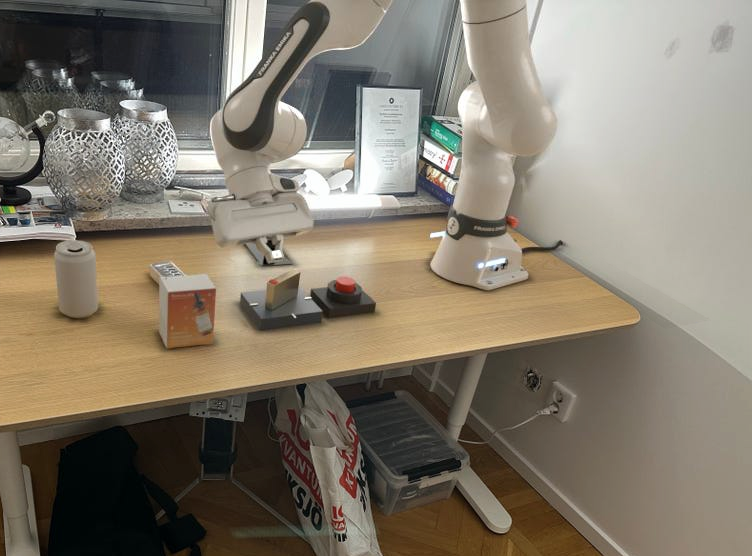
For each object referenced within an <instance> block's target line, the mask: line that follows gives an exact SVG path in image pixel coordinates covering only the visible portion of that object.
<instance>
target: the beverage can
mask: <svg viewBox="0 0 752 556" xmlns="http://www.w3.org/2000/svg"><path fill="white" fill-rule="evenodd" d="M93 247H94V246H93V245H92V244H91V243H90V242H88V241H84V240H77V239H71V240H63V241H61V242H60V243H59V242H58V243H57V244H56V245H55V251H54V252H53V257H54V267H55V268H54V270H55V279H56V288H57V289H56V291H57V302H58V309H59V311H60V312H61V313H62V314H64V315H66V316H67V317H69V318H71V319H85V318H88V317H91V316H93V314H95V313H96V311H98V309H99V296H98V295H99V293H98V279H97V278H98V277H97V276H98V275H97V259H96V252H95V251H94V249H93Z"/></svg>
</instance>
